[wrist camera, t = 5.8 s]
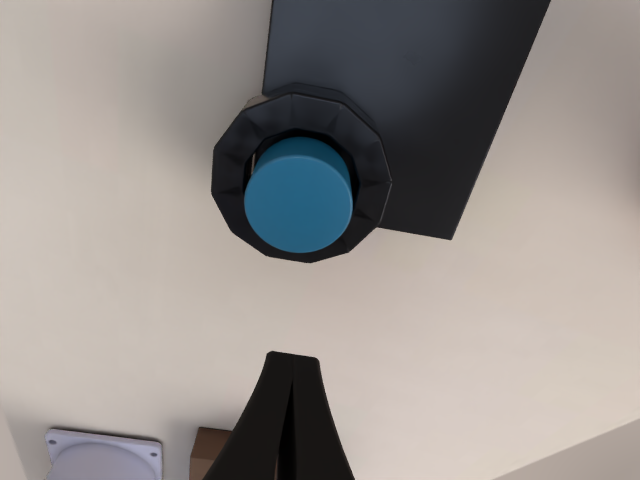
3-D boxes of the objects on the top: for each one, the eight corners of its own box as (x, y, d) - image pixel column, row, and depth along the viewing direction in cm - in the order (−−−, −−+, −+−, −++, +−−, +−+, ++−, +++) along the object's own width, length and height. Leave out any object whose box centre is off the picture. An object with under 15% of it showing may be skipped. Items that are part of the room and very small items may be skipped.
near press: (431, 239, 20) (452, 288, 17) (228, 204, 20) (207, 247, 16) (588, -169, 13) (685, -232, 9) (266, -257, 12) (241, -362, 8)
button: (338, 232, 16) (340, 261, 14) (248, 217, 16) (239, 244, 14) (359, 146, 14) (364, 167, 13) (259, 127, 14) (249, 145, 12)
